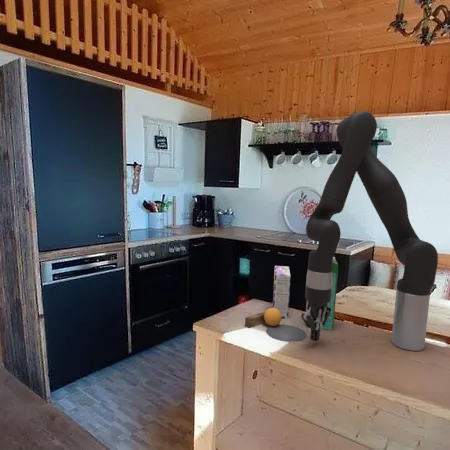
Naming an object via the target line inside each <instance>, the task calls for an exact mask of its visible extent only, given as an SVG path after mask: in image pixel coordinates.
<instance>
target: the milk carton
mask: <svg viewBox="0 0 450 450" xmlns="http://www.w3.org/2000/svg"><path fill="white" fill-rule="evenodd" d="M311 251H312V250H311ZM311 251H310V252H311ZM310 252H309V253H310ZM338 274H339V264H338V262H337V260H336V257H335V256H334V257H333V267H332V291H331V301H330V302H329V303H327V306H328V307H329V308H331V312H330V314H329V317H328V319H327V321H326V323H325V325H324V326H323V325H322V328H321V330H322V329H323V330H331V331H332V330H334V327H335V326H334V324H335V323H334V322H335V312H336V300H337V299H336V298H337V287H338ZM307 306H308V301H307V300H306V306H305V313H306V312H307Z"/></svg>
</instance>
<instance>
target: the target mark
mask: <svg viewBox="0 0 450 450" xmlns="http://www.w3.org/2000/svg"><path fill="white" fill-rule="evenodd" d="M265 332H266V333H265V334H267V335H268V336H269V337H271V338H272V339H275V340H278V341H281V342H290V341H293V342H299V341H303V340H304V339H306V338H307V333H306V331H305V330H303V329H302V328H300V327H298V326H295V325H291V324H280V323H279V324H278V325H276V326H270V325H268V327H266V330H265Z"/></svg>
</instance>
